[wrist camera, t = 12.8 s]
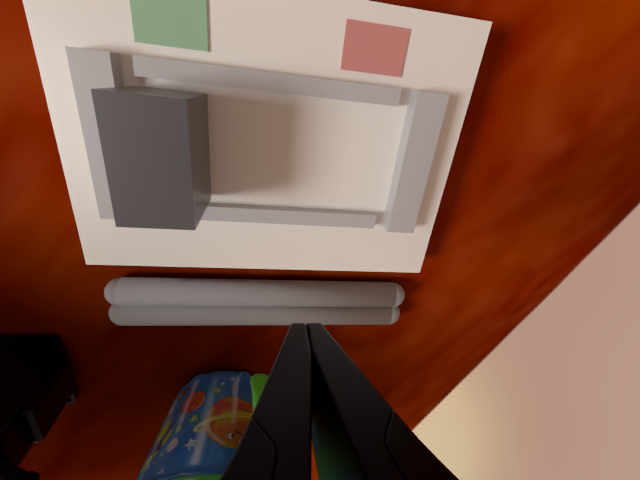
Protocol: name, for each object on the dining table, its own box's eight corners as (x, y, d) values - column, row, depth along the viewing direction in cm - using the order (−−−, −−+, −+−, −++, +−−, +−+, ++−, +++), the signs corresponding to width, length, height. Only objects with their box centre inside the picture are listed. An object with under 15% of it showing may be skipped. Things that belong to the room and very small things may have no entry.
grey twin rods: (118, 313, 22) (106, 332, 20) (6, -227, 11) (-36, -276, 10) (392, 313, 25) (400, 329, 24) (502, -105, 15) (530, -126, 13)
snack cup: (226, 463, 31) (208, 620, 22) (118, 429, 27) (42, 605, 18) (332, 364, 27) (362, 508, 18) (223, 307, 23) (191, 456, 14)
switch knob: (149, 194, 16) (115, 226, 13) (135, 86, 14) (90, 89, 11) (211, 198, 17) (195, 230, 13) (207, 93, 15) (186, 99, 11)
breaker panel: (102, 247, 20) (76, 274, 17) (42, -44, 14) (-14, -74, 11) (408, 257, 23) (426, 281, 20) (469, 27, 17) (505, 18, 14)
